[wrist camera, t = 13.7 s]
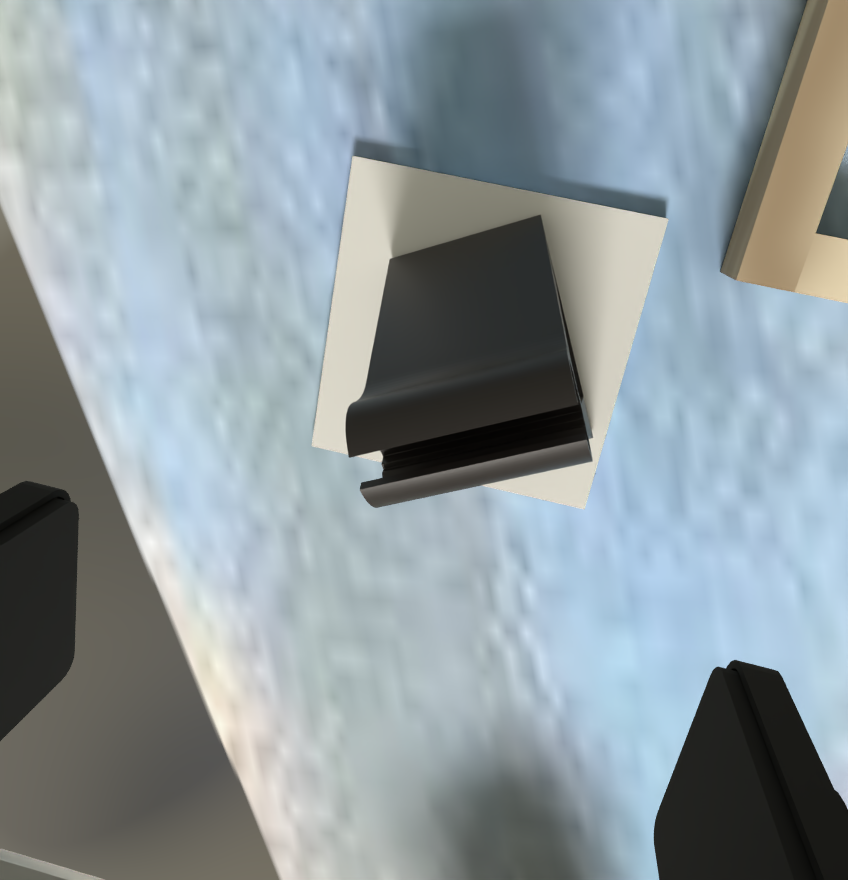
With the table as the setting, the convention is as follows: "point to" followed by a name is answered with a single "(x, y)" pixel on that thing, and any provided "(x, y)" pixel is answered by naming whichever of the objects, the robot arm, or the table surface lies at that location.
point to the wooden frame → (799, 168)
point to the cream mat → (469, 212)
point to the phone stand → (470, 370)
